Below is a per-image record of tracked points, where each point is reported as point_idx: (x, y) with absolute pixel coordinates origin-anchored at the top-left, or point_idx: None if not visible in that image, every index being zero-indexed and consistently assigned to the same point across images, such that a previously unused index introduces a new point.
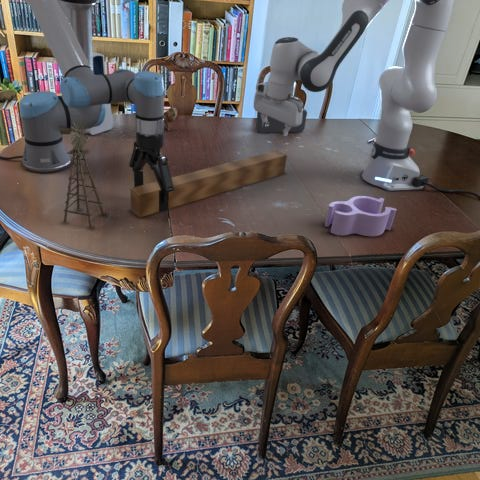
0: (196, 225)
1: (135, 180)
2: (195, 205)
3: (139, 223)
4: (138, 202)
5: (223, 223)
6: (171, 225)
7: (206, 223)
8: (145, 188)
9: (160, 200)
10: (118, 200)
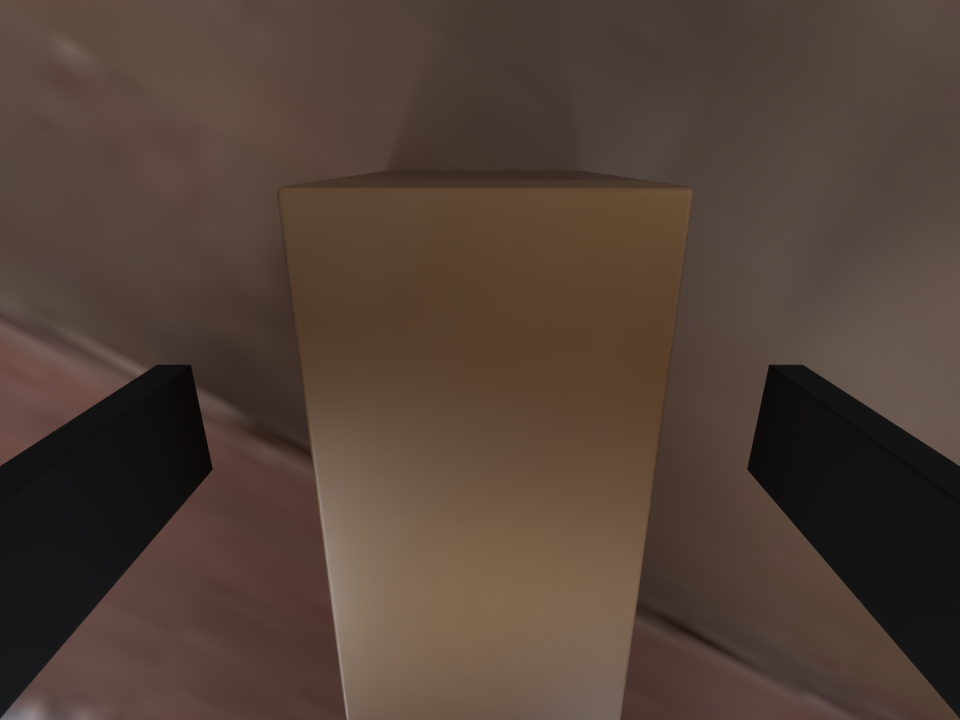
0: None
1: (915, 471)
2: None
3: (266, 95)
4: (361, 178)
5: None
6: (102, 369)
7: None
8: (496, 456)
9: (27, 454)
10: (883, 167)
